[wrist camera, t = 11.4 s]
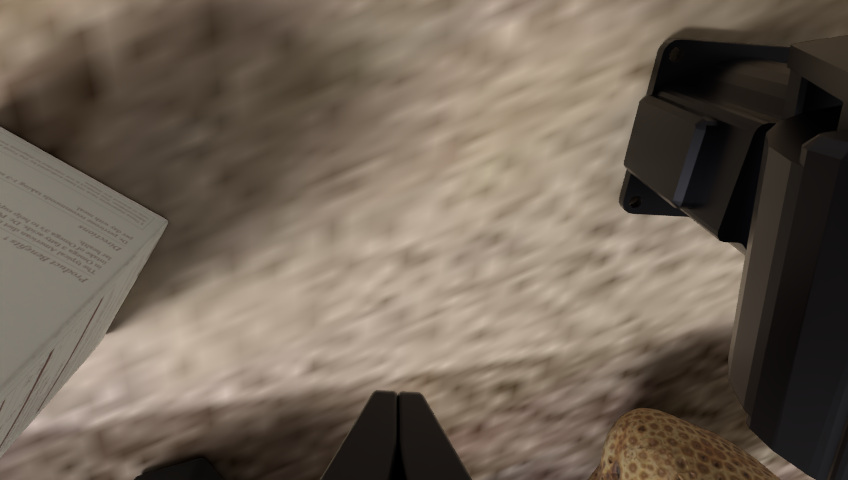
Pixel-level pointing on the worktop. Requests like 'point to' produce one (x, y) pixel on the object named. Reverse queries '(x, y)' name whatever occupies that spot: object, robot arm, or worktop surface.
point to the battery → (184, 472)
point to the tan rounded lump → (672, 452)
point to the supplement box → (58, 273)
